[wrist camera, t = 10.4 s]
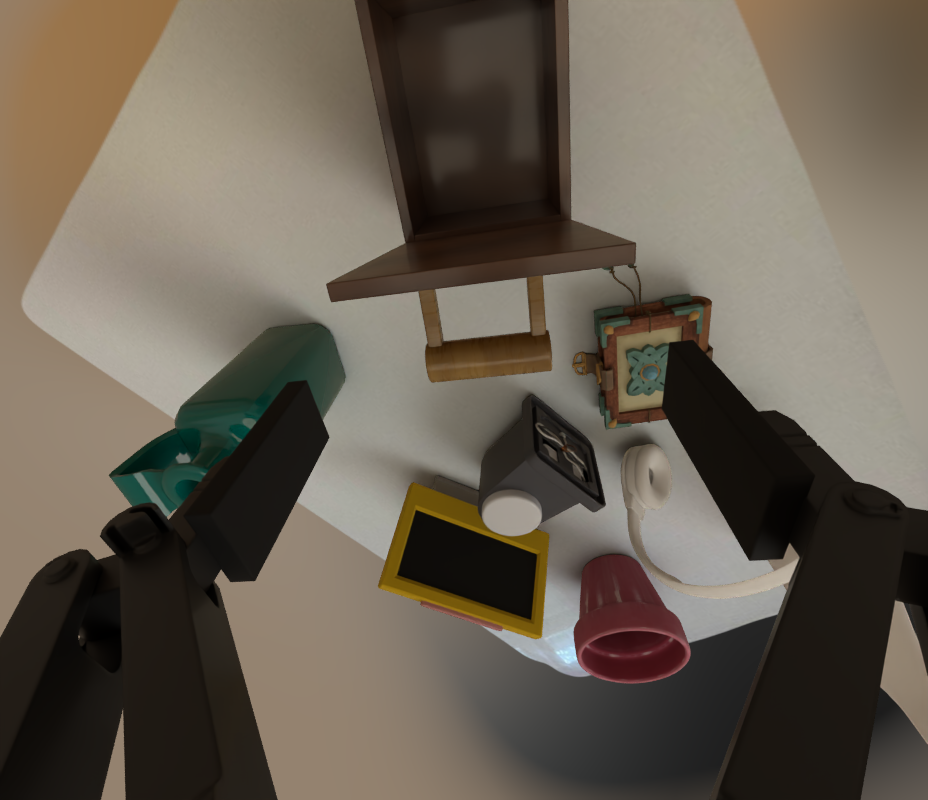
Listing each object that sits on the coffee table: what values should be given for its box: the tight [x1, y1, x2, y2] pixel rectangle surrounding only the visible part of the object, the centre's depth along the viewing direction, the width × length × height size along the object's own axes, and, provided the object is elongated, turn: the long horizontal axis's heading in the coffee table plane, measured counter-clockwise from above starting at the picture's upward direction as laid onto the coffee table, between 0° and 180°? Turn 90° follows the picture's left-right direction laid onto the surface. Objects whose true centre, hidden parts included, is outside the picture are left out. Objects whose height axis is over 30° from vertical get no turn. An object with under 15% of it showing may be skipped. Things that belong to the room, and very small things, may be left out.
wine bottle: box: [768, 543, 928, 744], centre depth 46 cm, size 10×10×30 cm
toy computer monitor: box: [378, 476, 549, 639], centre depth 54 cm, size 20×8×16 cm, turn 65°
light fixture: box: [478, 395, 606, 536], centre depth 50 cm, size 11×13×11 cm
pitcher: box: [109, 324, 345, 517], centre depth 40 cm, size 10×8×22 cm
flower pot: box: [574, 555, 690, 683], centre depth 62 cm, size 14×14×13 cm
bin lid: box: [326, 220, 636, 383], centre depth 26 cm, size 16×13×6 cm
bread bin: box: [354, 0, 571, 243], centre depth 32 cm, size 16×13×9 cm
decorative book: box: [572, 264, 713, 430], centre depth 44 cm, size 13×18×5 cm
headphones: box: [621, 444, 800, 599], centre depth 44 cm, size 7×18×20 cm, turn 129°
